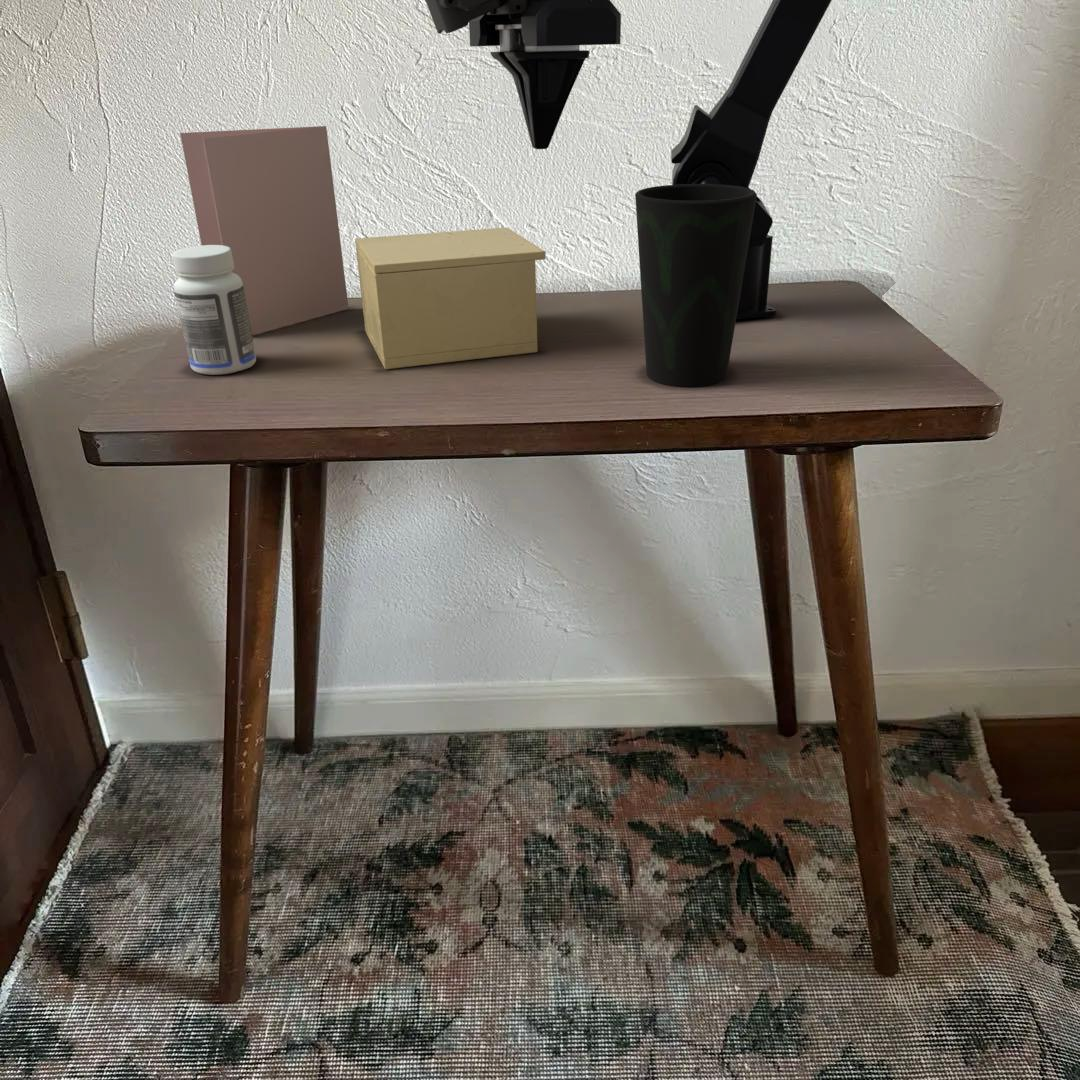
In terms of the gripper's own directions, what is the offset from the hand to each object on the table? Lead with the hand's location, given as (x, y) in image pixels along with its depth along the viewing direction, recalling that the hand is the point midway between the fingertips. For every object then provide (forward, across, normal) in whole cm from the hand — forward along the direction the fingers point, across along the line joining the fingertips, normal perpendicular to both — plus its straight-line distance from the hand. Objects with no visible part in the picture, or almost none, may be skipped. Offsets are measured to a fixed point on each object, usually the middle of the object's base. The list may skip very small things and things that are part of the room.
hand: (540, 148), depth 75 cm
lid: (+6, +6, -10) cm, 13 cm away
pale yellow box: (+13, +6, -10) cm, 18 cm away
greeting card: (+13, -6, -22) cm, 26 cm away
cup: (+13, +20, +4) cm, 25 cm away
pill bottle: (+13, +5, -27) cm, 31 cm away
